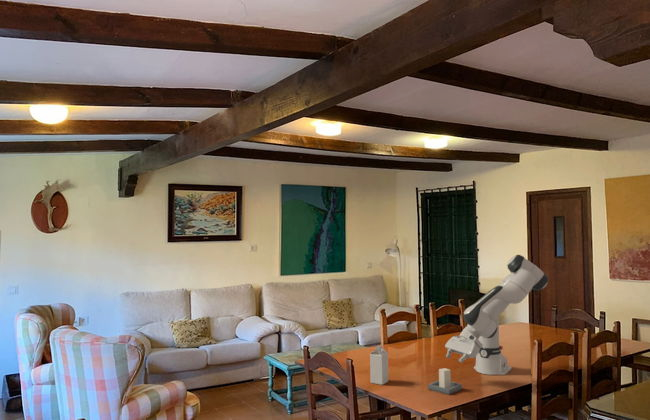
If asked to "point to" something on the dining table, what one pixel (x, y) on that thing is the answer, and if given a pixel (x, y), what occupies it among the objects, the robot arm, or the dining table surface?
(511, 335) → the dining table surface
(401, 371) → the dining table surface
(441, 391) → the grey tray
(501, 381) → the dining table surface
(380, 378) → the milk carton
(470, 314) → the robot arm
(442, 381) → the cream block
